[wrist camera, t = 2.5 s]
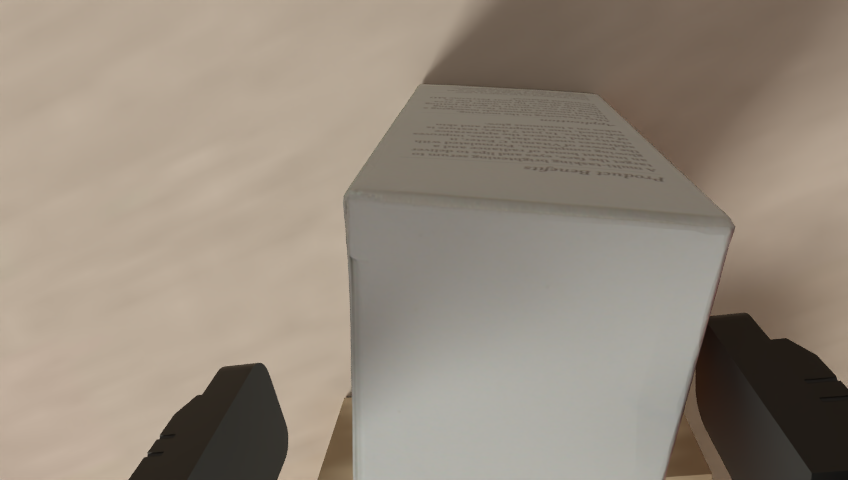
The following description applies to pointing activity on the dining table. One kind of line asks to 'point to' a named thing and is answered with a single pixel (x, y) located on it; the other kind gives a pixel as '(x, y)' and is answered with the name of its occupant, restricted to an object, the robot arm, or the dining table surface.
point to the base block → (683, 476)
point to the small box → (523, 291)
